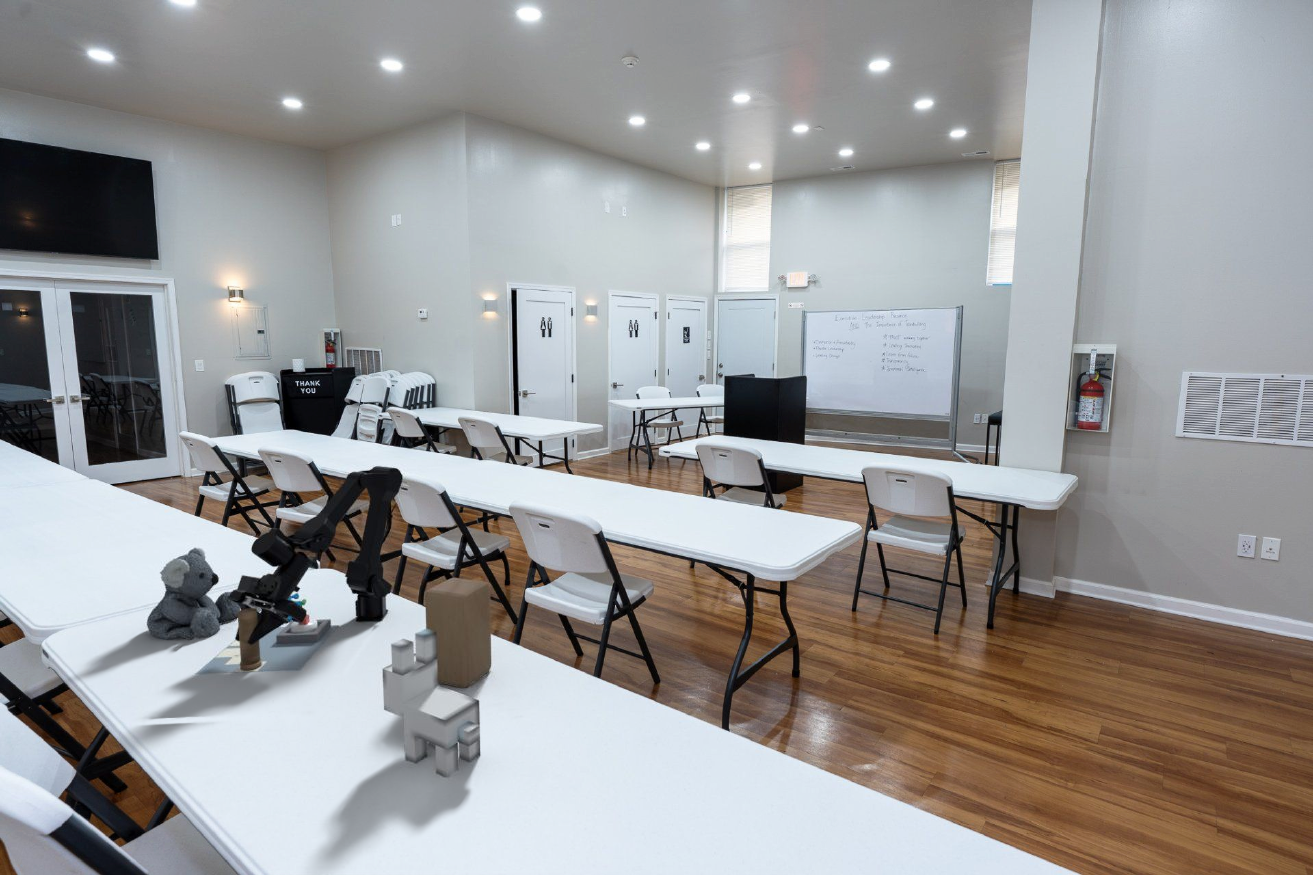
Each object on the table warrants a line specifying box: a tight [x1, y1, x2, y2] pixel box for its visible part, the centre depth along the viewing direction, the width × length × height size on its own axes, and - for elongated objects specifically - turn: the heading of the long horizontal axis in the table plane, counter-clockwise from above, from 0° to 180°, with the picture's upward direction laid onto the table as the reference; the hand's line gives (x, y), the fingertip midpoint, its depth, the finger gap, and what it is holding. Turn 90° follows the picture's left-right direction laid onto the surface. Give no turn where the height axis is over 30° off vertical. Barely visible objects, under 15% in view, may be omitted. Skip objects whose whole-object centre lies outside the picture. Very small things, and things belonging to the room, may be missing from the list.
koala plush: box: [146, 547, 241, 640], centre depth 166 cm, size 17×18×20 cm
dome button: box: [291, 614, 318, 633], centre depth 162 cm, size 6×6×4 cm
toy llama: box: [382, 628, 481, 779], centre depth 116 cm, size 8×18×20 cm, turn 60°
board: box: [195, 618, 340, 675], centre depth 156 cm, size 21×24×3 cm
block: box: [424, 577, 492, 689], centre depth 144 cm, size 10×10×20 cm
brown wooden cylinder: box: [237, 608, 262, 671], centre depth 146 cm, size 4×4×12 cm
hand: (243, 642), depth 144 cm, fingers closed on brown wooden cylinder, 4 cm apart
